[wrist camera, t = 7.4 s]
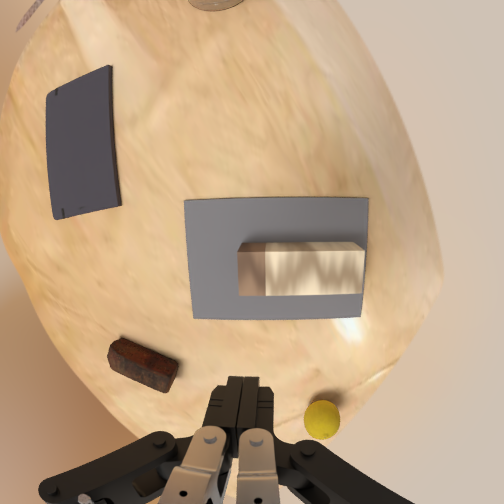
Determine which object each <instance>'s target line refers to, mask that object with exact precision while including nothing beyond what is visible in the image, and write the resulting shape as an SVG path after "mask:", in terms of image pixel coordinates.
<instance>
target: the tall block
mask: <svg viewBox="0 0 504 504" xmlns="http://www.w3.org/2000/svg"><path fill="white" fill-rule="evenodd" d="M364 257H365V250H363V249H362V248H361V247H359V246H358V245H357V244H355V243H354V242H273V243H241V245H240V247H239V249H238V251H237V262H238V286H239V296H288V295H331V294H358V293H362V283H363V271H364Z"/></svg>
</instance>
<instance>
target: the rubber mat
mask: <svg viewBox="0 0 504 504" xmlns="http://www.w3.org/2000/svg"><path fill="white" fill-rule="evenodd" d="M184 211H185V228H186V243H187V256H188V268H189V279H190V289H191V299H192V309H193V318H194V319H220V320H299V319H330V318H351V317H361V309H362V300H363V290H364V279H365V267H366V252H367V232H368V198H338V197H270V198H231V199H206V200H186V201H184ZM273 242H354V243H355V244H357V245H358V246H359V247H361V248H362V249H363V250H365V257H364V271H363V283H362V293H358V294H331V295H288V296H239V286H238V262H237V251H238V249H239V247H240V245H241V243H273Z"/></svg>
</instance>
